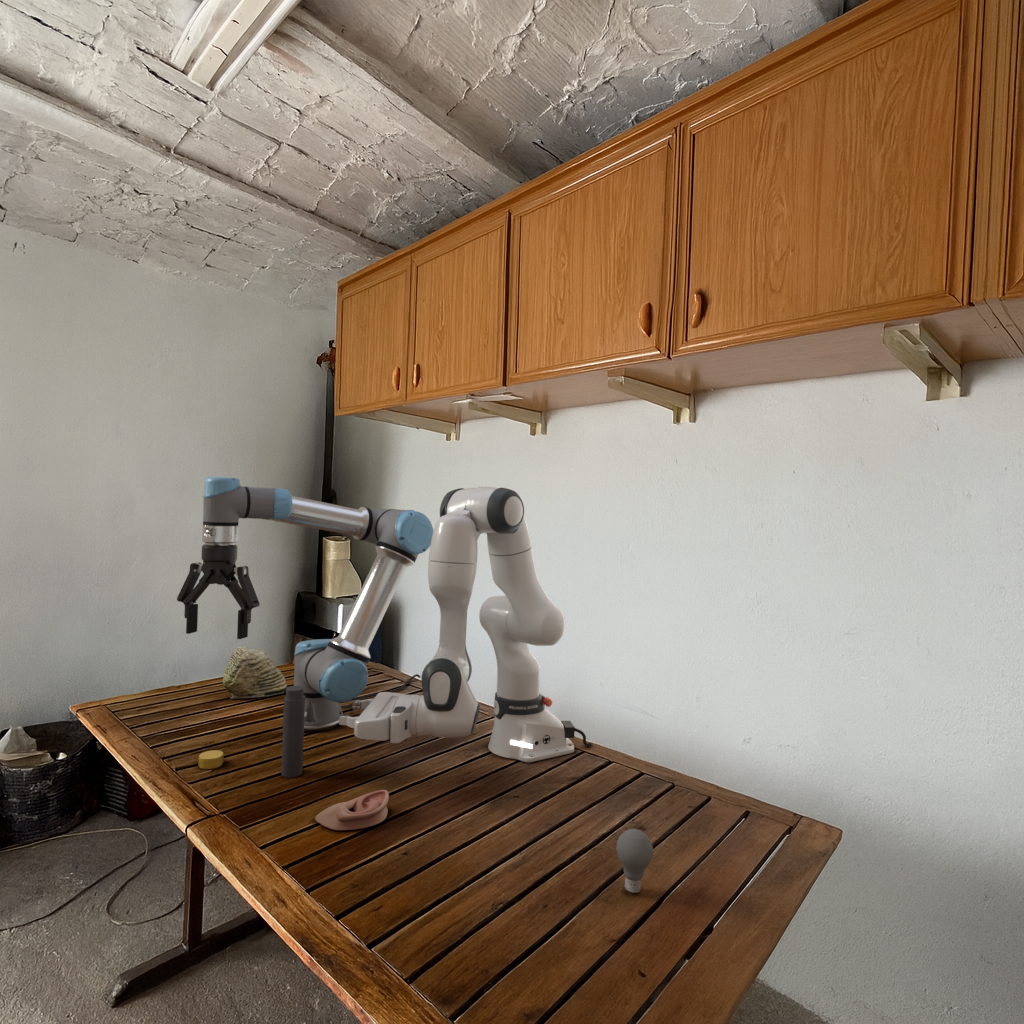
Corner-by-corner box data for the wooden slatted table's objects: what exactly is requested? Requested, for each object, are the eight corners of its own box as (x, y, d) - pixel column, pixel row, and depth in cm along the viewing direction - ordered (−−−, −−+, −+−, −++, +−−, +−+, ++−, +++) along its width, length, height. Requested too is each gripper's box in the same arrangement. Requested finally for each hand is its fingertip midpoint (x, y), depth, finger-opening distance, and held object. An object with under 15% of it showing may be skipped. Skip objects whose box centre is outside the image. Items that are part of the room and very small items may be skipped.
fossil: (218, 695, 195) (220, 647, 195) (278, 685, 208) (279, 640, 207) (228, 703, 189) (230, 653, 188) (289, 692, 201) (290, 645, 201)
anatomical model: (307, 805, 121) (336, 780, 133) (306, 826, 121) (335, 798, 133) (372, 815, 119) (395, 788, 130) (371, 836, 119) (394, 807, 130)
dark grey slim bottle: (278, 777, 142) (282, 690, 141) (284, 769, 146) (287, 684, 146) (299, 777, 142) (302, 691, 142) (304, 769, 147) (307, 685, 146)
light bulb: (610, 879, 108) (613, 822, 108) (644, 879, 109) (647, 822, 109) (619, 902, 102) (622, 840, 102) (655, 901, 103) (658, 840, 103)
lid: (193, 768, 144) (194, 758, 144) (205, 759, 150) (205, 749, 150) (216, 769, 144) (217, 759, 144) (227, 760, 150) (227, 750, 150)
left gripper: (161, 541, 146) (158, 633, 146) (257, 548, 140) (253, 643, 140) (185, 539, 153) (182, 627, 153) (277, 546, 147) (274, 636, 147)
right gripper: (417, 686, 153) (360, 684, 154) (396, 717, 133) (331, 714, 133) (416, 712, 153) (360, 709, 154) (395, 747, 133) (331, 743, 134)
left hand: (216, 635), depth 147 cm, fingers open, 13 cm apart
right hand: (346, 712), depth 144 cm, fingers open, 8 cm apart
